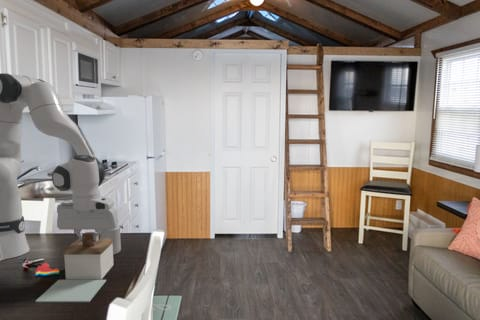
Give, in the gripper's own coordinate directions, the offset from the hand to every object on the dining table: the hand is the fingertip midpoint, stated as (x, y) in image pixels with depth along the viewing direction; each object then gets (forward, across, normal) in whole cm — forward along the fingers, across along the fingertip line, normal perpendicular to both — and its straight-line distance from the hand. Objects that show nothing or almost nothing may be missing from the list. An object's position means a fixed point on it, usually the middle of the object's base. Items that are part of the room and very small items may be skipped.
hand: (89, 241), depth 128 cm
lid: (+2, 0, 0) cm, 2 cm away
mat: (+11, 0, -14) cm, 18 cm away
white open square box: (+11, 0, 0) cm, 11 cm away
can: (+12, +1, +18) cm, 21 cm away
